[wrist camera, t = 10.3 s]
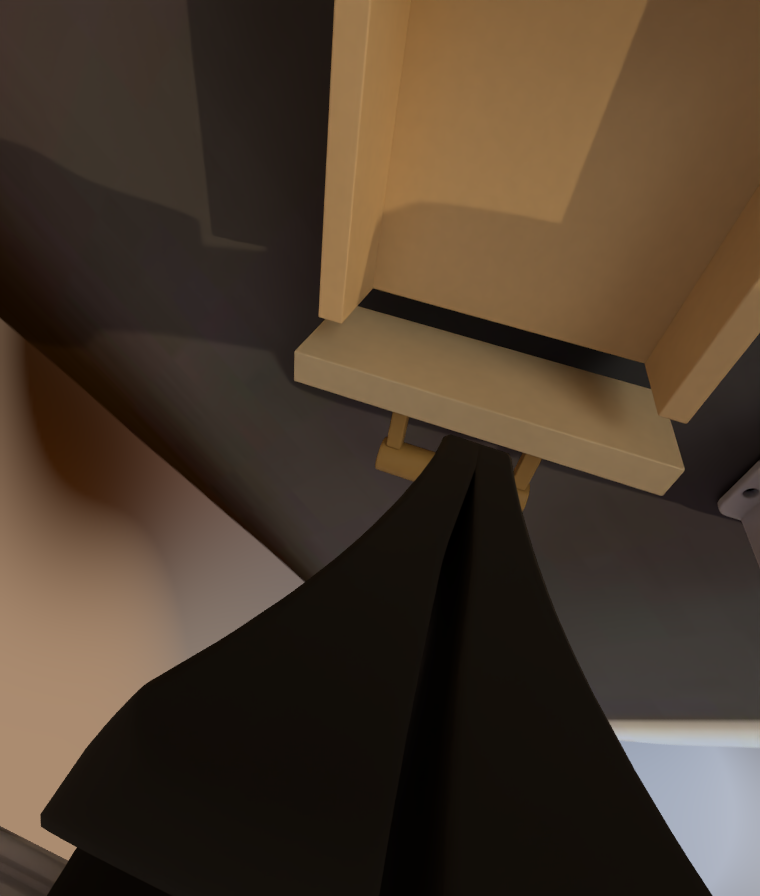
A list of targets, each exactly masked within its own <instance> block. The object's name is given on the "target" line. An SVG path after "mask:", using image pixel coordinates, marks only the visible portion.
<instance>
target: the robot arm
mask: <svg viewBox="0 0 760 896" xmlns="http://www.w3.org/2000/svg"><path fill="white" fill-rule="evenodd" d="M751 488H753V489H754V490H752V491H745V490H747V489H751ZM717 505H718V508H719V511H720V512H721V514H723V515H725V516H728V517H731V518H735V519H738V520H741V521H742V524H743V527H744V529H745V532H746V534H747V537H748V540H749V542H750V545H751V547H752V550H753V553H754V555H755V558H756V560H757V563H758V566H759V568H760V460H759V461H758V462H757V463H756V464H755V465H754V466H753V467H752V468H751V469H750V470H749V471H748V472H747V473H746V474H745V475H744V476H743V477H742V478H741V479H740V480H739V481H738V482H737V483H736V484H735V485H733V486H732V487H731V488H730V489H729V490H728V491H727V492H726V493H725V494H724V495H723V496H722V497H721V498H720V499H719V501H718V502H717ZM41 827H43V828H44V829H46V830H47V831H49V832H51V833H52V834H54V835H56V836H58V837H59V838H61V839H63V840H65V841H67V842H69V843H71V844H72V845H74V846H76V847H77V848H76V850H75V851H74V853H73V854H72V856H71V858H70V859H69V861H68V860H66V859H64V858H62V857H60V856H58V855H56V854H54V853H52V852H50V851H48V850H46V849H44V848H42V847H40V846H38V845H36V844H34V843H32V842H30V841H28V840H26V839H24V838H22V837H20V836H18V835H16V834H15V833H13V832H11V831H9V830H7V829H5V828H3V827H1V826H0V896H712V894H711V893H710V891H709V890H708V888H707V887H706V885H705V884H704V882H703V881H702V879H701V877H700V876H699V874H698V873H697V871H696V870H695V868H694V867H693V865H692V864H691V862H690V861H689V859H688V858H687V856H686V855H685V853H684V851H683V849H682V848H681V846H680V845H679V843H678V841H677V840H676V838H675V837H674V835H673V834H672V832H671V830H670V829H669V827H668V825H667V824H666V822H665V820H664V819H663V817H662V815H661V813H660V812H659V810H658V808H657V807H656V805H655V803H654V802H653V800H652V798H651V797H650V795H649V793H648V792H647V790H646V788H645V787H644V785H643V783H642V781H641V780H640V778H639V776H638V775H637V773H636V772H635V770H634V768H633V766H632V764H631V762H630V761H629V759H628V757H627V755H626V753H625V751H624V749H623V747H622V746H621V744H620V742H619V740H618V738H617V736H616V735H615V733H614V731H613V729H612V727H611V725H610V724H609V722H608V720H607V718H606V716H605V714H604V712H603V711H602V709H601V707H600V705H599V703H598V701H597V700H596V698H595V696H594V694H593V692H592V690H591V688H590V686H589V684H588V682H587V680H586V678H585V676H584V674H583V671H582V669H581V667H580V665H579V663H578V661H577V659H576V657H575V655H574V653H573V651H572V648H571V646H570V644H569V642H568V639H567V637H566V635H565V633H564V630H563V628H562V626H561V623H560V621H559V619H558V616H557V614H556V611H555V609H554V606H553V604H552V601H551V599H550V596H549V594H548V591H547V588H546V585H545V583H544V580H543V577H542V574H541V572H540V569H539V566H538V563H537V560H536V557H535V554H534V551H533V547H532V544H531V541H530V537H529V534H528V530H527V527H526V524H525V520H524V516H523V513H522V509H521V505H520V500H519V496H518V492H517V487H516V483H515V477H514V472H513V466H512V459H511V457H510V455H509V454H508V453H505V452H502V451H499V450H496V449H493V448H490V447H487V446H484V445H481V444H478V443H475V442H472V441H469V440H466V439H463V438H460V437H456V436H453V435H448V436H445V437H443V440H442V442H441V444H440V446H439V448H438V450H437V451H436V453H435V455H434V456H433V458H432V459H431V460H430V462H429V463H428V465H427V466H426V467H425V469H424V470H423V471H422V473H421V474H420V475H419V476H418V477H417V479H416V480H415V481H414V482H413V483H412V484H411V486H410V487H409V488H408V489H407V490H406V492H405V493H404V494H403V495H402V496H401V497H400V498H399V499H398V500H397V502H396V503H395V504H394V505H393V506H392V507H391V508H390V509H389V510H388V511H387V512H386V513H385V514H384V515H383V516H382V517H381V518H380V519H379V520H378V521H377V522H376V523H375V524H374V525H373V526H372V527H371V528H370V529H369V530H367V531H366V532H365V533H364V534H363V535H362V536H361V537H360V538H359V539H358V540H356V541H355V542H354V543H353V544H352V545H351V546H350V547H348V548H347V549H346V550H345V551H344V552H343V553H341V554H340V555H339V556H338V557H337V558H335V559H334V560H333V561H332V562H330V563H329V564H328V565H327V566H325V567H324V568H323V569H322V570H320V571H319V572H318V573H316V574H315V575H314V576H313V577H311V578H310V579H309V580H307V581H306V582H305V583H303V584H302V585H301V586H299V587H298V588H297V589H295V590H294V591H293V592H291V593H290V594H288V595H287V596H286V597H284V598H283V599H281V600H280V601H279V602H277V603H275V604H274V605H272V606H271V607H269V608H268V609H266V610H265V611H264V612H262V613H261V614H259V615H257V616H256V617H254V618H253V619H252V620H250V621H249V622H247V623H246V624H244V625H243V626H241V627H240V628H238V629H237V630H235V631H234V632H232V633H230V634H229V635H227V636H226V637H224V638H222V639H221V640H219V641H218V642H216V643H214V644H213V645H211V646H209V647H207V648H206V649H204V650H202V651H201V652H199V653H197V654H196V655H194V656H192V657H191V658H189V659H187V660H186V661H184V662H182V663H180V664H179V665H177V666H175V667H174V668H172V669H170V670H168V671H167V672H165V673H163V674H162V675H160V676H158V677H156V678H155V679H153V680H151V681H150V682H148V683H147V684H146V685H144V686H143V687H142V688H141V689H140V690H138V691H137V693H135V694H134V695H133V696H132V697H131V698H130V699H129V700H128V702H127V703H126V704H125V705H124V706H123V707H122V708H121V709H120V710H119V711H118V712H117V713H116V714H115V715H114V716H113V717H112V718H111V720H110V721H109V722H108V723H107V724H106V725H105V726H104V727H103V729H102V730H101V731H100V732H99V733H98V735H97V736H96V737H95V738H94V739H93V741H92V742H91V743H90V744H89V745H88V747H87V748H86V749H85V751H84V752H83V754H82V755H81V757H80V758H79V759H78V761H77V762H76V764H75V765H74V766H73V768H72V769H71V771H70V772H69V774H68V775H67V777H66V778H65V780H64V781H63V782H62V784H61V785H60V787H59V788H58V790H57V791H56V793H55V794H54V796H53V797H52V798H51V800H50V801H49V803H48V804H47V806H46V807H45V809H44V810H43V812H42V813H41Z"/></svg>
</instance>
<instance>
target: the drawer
mask: <svg viewBox="0 0 760 896" xmlns="http://www.w3.org/2000/svg"><path fill="white" fill-rule="evenodd" d="M373 288H374V289H377V290H381V291H384V292H388V293H392V294H395V295H399V296H402V297H406V298H410V299H413V300H417V301H421V302H424V303H428V304H431V305H435V306H439V307H442V308H446V309H449V310H453V311H457V312H460V313H464V314H468V315H471V316H475V317H478V318H482V319H486V320H489V321H493V322H496V323H500V324H504V325H507V326H511V327H515V328H518V329H522V330H525V331H529V332H533V333H536V334H540V335H543V336H547V337H551V338H554V339H558V340H562V341H565V342H569V343H572V344H576V345H580V346H583V347H587V348H590V349H594V350H598V351H601V352H605V353H608V354H612V355H616V356H619V357H623V358H627V359H630V360H634V361H637V362H641V363H645V367H646V371H647V375H648V379H649V382H650V386H651V389H648V388H645V387H641V386H638V385H634V384H631V383H627V382H624V381H620V380H617V379H613V378H609V377H606V376H602V375H599V374H595V373H592V372H588V371H585V370H581V369H578V368H574V367H571V366H567V365H564V364H560V363H557V362H553V361H550V360H546V359H543V358H539V357H535V356H532V355H528V354H525V353H521V352H518V351H514V350H511V349H507V348H504V347H500V346H497V345H493V344H490V343H486V342H483V341H479V340H476V339H472V338H468V337H465V336H461V335H458V334H454V333H451V332H447V331H444V330H440V329H437V328H433V327H430V326H426V325H423V324H419V323H416V322H412V321H409V320H405V319H402V318H398V317H394V316H391V315H387V314H384V313H380V312H377V311H373V310H370V309H366V308H363V307H359V306H358V305H359V304H360V302H361V301H362V300H363V299H364V298H365V297H366V296H367V294H368V293H369V292H370V291H371V290H372V289H373ZM319 317H320V318H324V319H325V320H324V321H323V322H322V323H321V324H320V325H319V326H318V327H317V328H316V329H315V330H314V331H313V332H312V334H311V335H310V336H309V337H308V338H307V339H306V340H305V341H304V342H303V343H302V344H301V345H300V346H299V347H298V348H297V349H296V350H295V352H294V381H297V382H300V383H303V384H306V385H309V386H313V387H316V388H319V389H322V390H325V391H329V392H332V393H335V394H338V395H341V396H345V397H348V398H351V399H354V400H357V401H360V402H364V403H367V404H370V405H373V406H376V407H380V408H383V409H386V410H389V411H392V412H393V413H392V418H391V423H390V428H389V433H388V437H385V438H384V440H383V442H382V444H381V446H380V449H379V452H378V455H377V459H376V463H375V468H376V469H378V470H381V471H384V472H387V473H390V474H393V475H396V476H399V477H402V478H405V479H408V480H411V481H415V480H416V479H417V477H418V476H419V475H420V474H421V473H422V471H423V470H424V469H425V467H426V466H427V465H428V463H429V462H430V460H431V459H432V458H433V456H434V455H435V453H436V452H433V451H430V450H426V449H423V448H420V447H417V446H414V445H411V444H408V443H405V442H404V438H405V434H406V429H407V425H408V421H409V417H411V418H415V419H418V420H421V421H424V422H427V423H430V424H434V425H437V426H440V427H443V428H446V429H450V430H453V431H456V432H459V433H462V434H466V435H469V436H472V437H475V438H478V439H481V440H485V441H488V442H491V443H494V444H497V445H501V446H504V447H507V448H510V449H513V450H516V451H520V452H523V453H522V455H521V457H520V459H519V461H518V463H517V465H516V467H515V469H514V471H513V472H514V477H515V483H516V487H517V492H518V496H519V500H520V505H521V509H522V511H523V510H524V508H525V505H526V503H527V499H528V496H529V491H530V484H529V482H530V480H531V478H532V477H533V475H534V473H535V471H536V469H537V467H538V466H539V464H540V462H541V460H542V459H545V460H548V461H552V462H555V463H558V464H561V465H564V466H567V467H571V468H574V469H577V470H580V471H583V472H587V473H590V474H593V475H596V476H599V477H602V478H606V479H609V480H612V481H615V482H618V483H622V484H625V485H628V486H631V487H634V488H637V489H641V490H644V491H647V492H650V493H653V494H657V495H660V496H663V495H664V494H665V492H666V491H667V490H668V489H669V488H670V487H671V486H672V484H673V483H674V482H675V481H676V480H677V479H678V478H679V477H680V475H681V474H682V473H683V472H684V470H685V468H684V465H683V461H682V458H681V455H680V451H679V448H678V444H677V441H676V438H675V434H674V431H673V427H672V424H671V421H670V419H671V420H675V421H678V422H682V423H685V424H687V423H688V422H689V421H690V419H691V418H692V417H693V416H694V414H695V413H696V412H697V411H698V409H699V408H700V407H701V406H702V404H703V403H704V402H705V401H706V399H707V398H708V397H709V396H710V394H711V393H712V392H713V391H714V389H715V388H716V387H717V386H718V384H719V383H720V382H721V381H722V379H723V378H724V377H725V376H726V374H727V373H728V372H729V371H730V369H731V368H732V367H733V366H734V364H735V363H736V362H737V361H738V359H739V358H740V357H741V356H742V354H743V353H744V352H745V351H746V349H747V348H748V347H749V346H750V344H751V343H752V342H753V341H754V339H755V338H756V337H757V336H758V334H759V333H760V0H334V19H333V39H332V59H331V79H330V98H329V118H328V138H327V158H326V177H325V197H324V217H323V237H322V257H321V276H320V296H319Z"/></svg>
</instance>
